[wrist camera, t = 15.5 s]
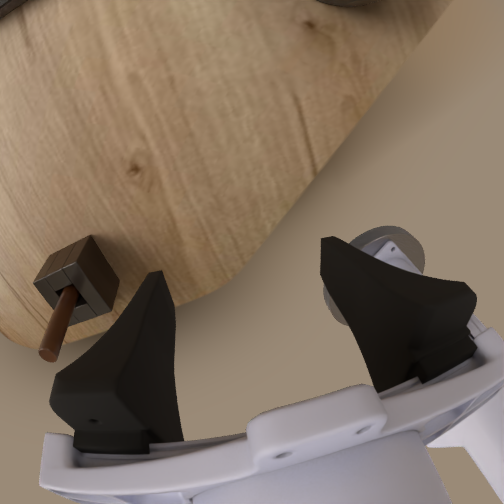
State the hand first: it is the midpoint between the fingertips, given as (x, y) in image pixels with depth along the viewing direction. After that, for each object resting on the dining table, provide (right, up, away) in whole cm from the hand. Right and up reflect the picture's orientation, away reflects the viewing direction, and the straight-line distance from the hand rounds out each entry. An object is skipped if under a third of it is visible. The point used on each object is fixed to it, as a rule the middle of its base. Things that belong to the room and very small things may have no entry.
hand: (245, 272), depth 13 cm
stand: (-14, -1, +9) cm, 17 cm away
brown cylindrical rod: (-14, 0, +9) cm, 17 cm away
